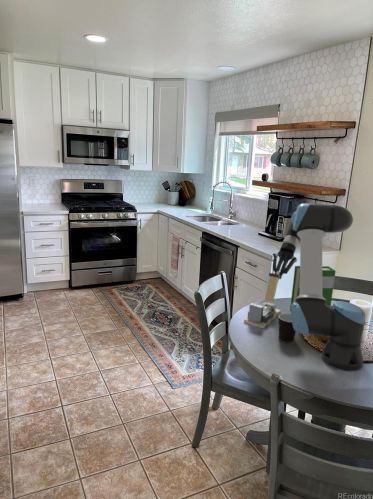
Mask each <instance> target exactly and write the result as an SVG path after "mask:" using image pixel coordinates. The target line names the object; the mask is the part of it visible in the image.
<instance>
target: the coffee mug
mask: <svg viewBox="0 0 373 499" xmlns="http://www.w3.org/2000/svg"><path fill="white" fill-rule="evenodd" d="M277 317H278V340H280V341H281V342H283V343H284V342H285V343H293V342H294V340H295V338H296V337H295V336H296V333H297V332H296V331H295V330H294V328H293V325H292V319H291V313H280V314H279V315H278V316H277Z"/></svg>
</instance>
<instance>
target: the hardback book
mask: <svg viewBox="0 0 373 499" xmlns="http://www.w3.org/2000/svg"><path fill="white" fill-rule="evenodd" d="M335 278H336V269H333V268H332V267H330V266H329V265H328V266H327V265H322V296H323V297H324V298H325V299H326V305H327V306H332V299H333V292H334V286H335V285H334V284H335ZM299 295H300V265H295V266H294V273H293V283H292V290H291V299H290V300H291V301H290V308H289V311H290V312H291V305H292V303H294V302H295V300H296V298H297V297H298V296H299Z"/></svg>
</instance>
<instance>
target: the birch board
mask: <svg viewBox="0 0 373 499" xmlns="http://www.w3.org/2000/svg"><path fill="white" fill-rule="evenodd" d="M281 312H282V310H281V309H278V308H275V313H274V316H273V317H272V318H270V319H269V320H268V321H267V322H266V323H263V322H262V323H261V324H259V323H256V322H252V321H249V318H248V316H247V317H246V318H244V320H243V323H244V324H248V325H251V326H254V327H257V328H261V329H265V328H266V327H268V325H269V324H270V323H271V322H273V320H275V319H276V318H277V317H278V316H279V315H280V314H282V313H281Z"/></svg>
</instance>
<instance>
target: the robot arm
mask: <svg viewBox="0 0 373 499" xmlns="http://www.w3.org/2000/svg"><path fill="white" fill-rule="evenodd" d="M353 223H354V217H353V214H352V213H351V211H349V209H347V208H346V207H343V206H341V205H338V204H337V205H336V204H325V203H323V204H322V203H321V204H320V203H310V202H309V203H300V204H298V206H297V208H296V210H295V211H294V212H293V213H292V216H291V217H290V221H289V225H288V227H287V231H286V233H285V236H284V239H283V241H282V244H281V245H280V246H281V247H280V249H279V251H278V252H277V253H273V254H272V256H273V261H272V270H273V272H274V273H273V274H278V275H280V278H279V279H278V281H279V280H281V279H282V277H283V275H284V274H285V275H287V274H288V272H289V271H290V269H291V268H292V267H293V265H294V264H295V263H296V262H297V261H298V259H297V257H296V256H295V252H296V249H297V247H298V244H299V241H300V250H299V251H300V252H299V253H300V256H299V258H300V260H299V261H300V262H299V263H300V264H299V266H300V295H299V296H298V297H297V298H296V300H295V302H294V303H292V305H291V304H290V306H291V311H290V314H291V319H292V325H293V328H294V330H295V331H296V333H298V334H302V335H303V334H304V335H306V336H308V335H315V336H324V337H328V340H327V342H326V344H324V347H323V348H322V351H321V359H322V361H323V362H324V363H325V364H327V365H329V366H330V367H332V368H334V369H337V370H340V371H346V372H347V371H348V372H355V371H359V370H361V369H362V368H363V365H364V356H363V352H362V347H361V346H362V340H363V334H364V328H365V325H366V312H365V310H364V309H362V308H361V307H360V306H358V305H357V304H354V303H352V302H348V301H343V300H337V301H334V302H333V304H332V305H331V306H327V305H326V299H325V298H324V297H323V296H322V266H323V239H324V238H326V236H327V234H328V233H329V234H330V233H331V234H334V233H341V232H345V231H347V230H349V229H350V228H351V227H352V225H353ZM278 258H279V260H278ZM277 260H278V261H277ZM277 262H278V263H277Z"/></svg>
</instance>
